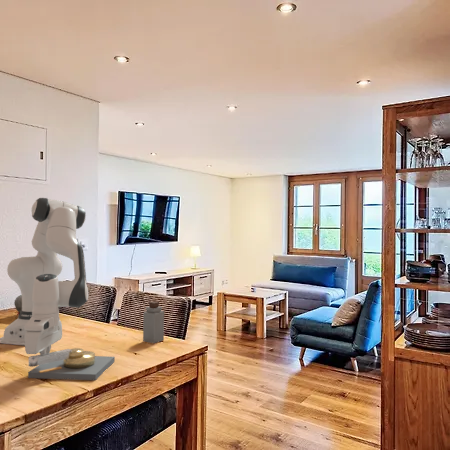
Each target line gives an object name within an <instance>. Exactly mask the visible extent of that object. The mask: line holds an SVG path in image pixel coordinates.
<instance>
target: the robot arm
mask: <svg viewBox="0 0 450 450" xmlns="http://www.w3.org/2000/svg"><path fill="white" fill-rule="evenodd" d="M86 216H87V215H86V210H85V208H83V207H82V206H79V205H75V204H73V203H69V202H66V201H62V200H57V199H56V200H55V199H50V198H48V197H39V198H37V199H36V200H35V201H34V203H33V204H32V207H31V217H32V219H34V221H37V225H36V226H35V227H36V228H35V230H34V233H33V237H32V240H31V245H32V247H33V249H34V250H35V251H37V254H36V255H35V256H21V257H17V258H14V259H12V260H10V261H9V263H8V265H7V268H6V269H7V270H6V271H7V275H8V277H9V279H11V280H12V281H14V283H15V284H17V286H18V288H19V289H20V295H22V310H21V311H19V312H18V311H17V312H16V313H15V316H17V319H15V320H14V321H12V322H11V323H10V324H8V325H7V326H6V327H5V328H4V331H3V336H2V337H0V344H7V345H17V346H24V350H25V353H26V354H27V355H38V354H39V355H41V354H45V353H50V352H51V349H52V345H53V344H55V343H58V342H59V341H60V340H61V339H63V325H62V321H61V319H60V308H58V307H61V308H62V307H63V308H65V307H66V308H81V307H83V306H84V305H85V304H86V303H87V302H88V299H89V288H88V285H87V273H86V264H85V263H86V261H85V254H84V248H83V246H82V243H80V242H78V239H77V236H76V235H77V230H79V229H80V228H82V227H83V225H84V224H85V222H86ZM58 255H61V256H63V257H66V258H69V259H70V260H72V261H73V272H74V279H72V280H59V278H58V276H60V274H61V273H62V272H63V271H62V270H63V263H62V261H61V259H60V258H59V257H58Z"/></svg>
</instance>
